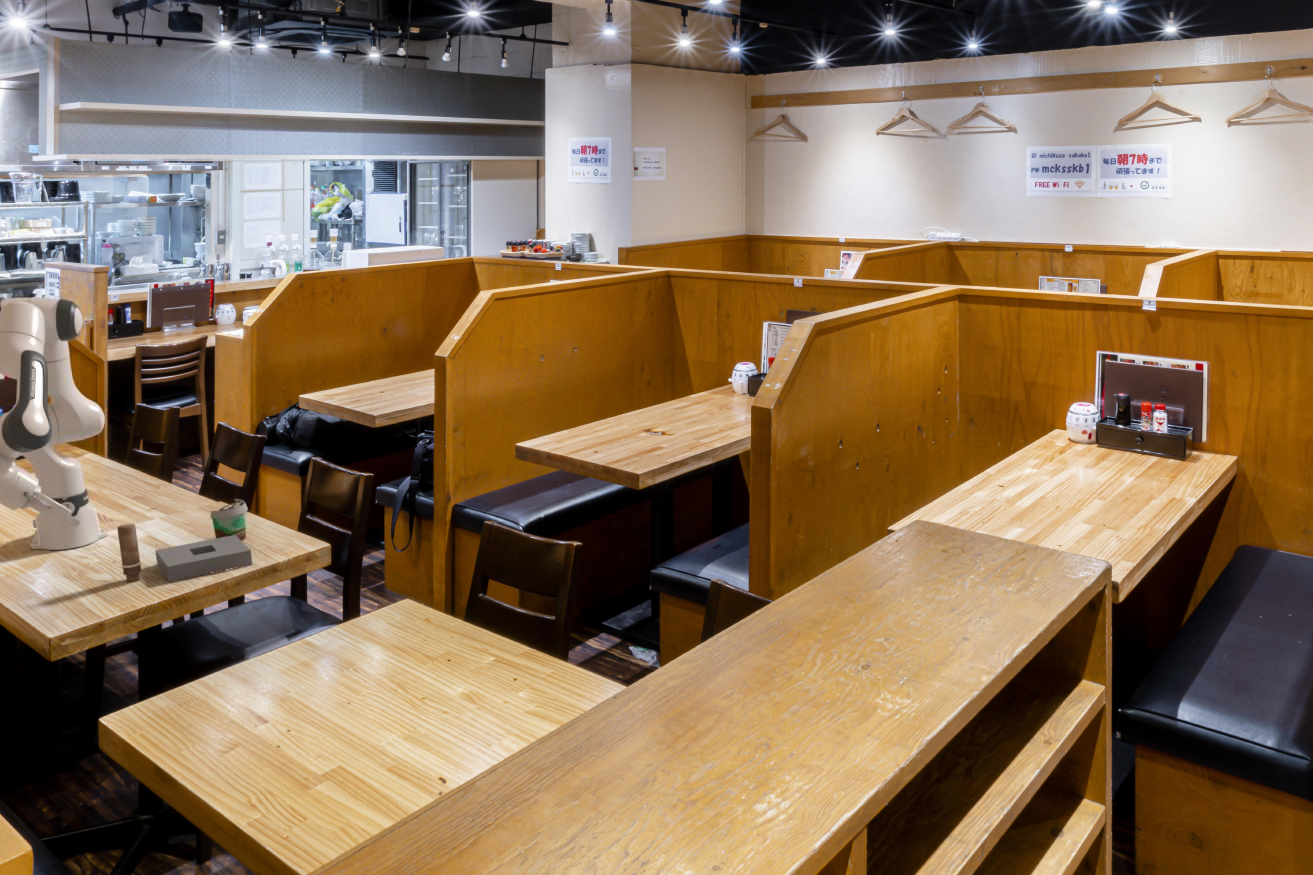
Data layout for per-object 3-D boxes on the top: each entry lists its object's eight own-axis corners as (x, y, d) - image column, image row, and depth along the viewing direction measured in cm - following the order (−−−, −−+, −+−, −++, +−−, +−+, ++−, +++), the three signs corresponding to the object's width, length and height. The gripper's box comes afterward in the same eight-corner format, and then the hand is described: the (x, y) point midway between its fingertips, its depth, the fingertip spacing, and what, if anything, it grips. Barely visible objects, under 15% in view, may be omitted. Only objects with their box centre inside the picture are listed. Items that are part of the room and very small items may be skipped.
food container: (234, 547, 286) (230, 512, 284) (213, 546, 287) (209, 511, 285) (259, 533, 298) (255, 499, 295) (239, 531, 299) (236, 498, 297)
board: (157, 564, 274) (155, 550, 273) (237, 548, 285) (235, 534, 284) (169, 581, 262) (167, 566, 261) (252, 564, 273) (250, 550, 272)
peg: (122, 579, 264) (115, 526, 261) (141, 575, 266) (134, 522, 263) (125, 584, 261) (118, 530, 257) (144, 580, 263) (137, 527, 260)
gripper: (43, 486, 235) (95, 517, 244) (12, 471, 249) (63, 501, 258) (24, 510, 233) (77, 540, 242) (-6, 493, 247) (46, 523, 256)
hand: (70, 520), depth 250 cm, fingers open, 8 cm apart
